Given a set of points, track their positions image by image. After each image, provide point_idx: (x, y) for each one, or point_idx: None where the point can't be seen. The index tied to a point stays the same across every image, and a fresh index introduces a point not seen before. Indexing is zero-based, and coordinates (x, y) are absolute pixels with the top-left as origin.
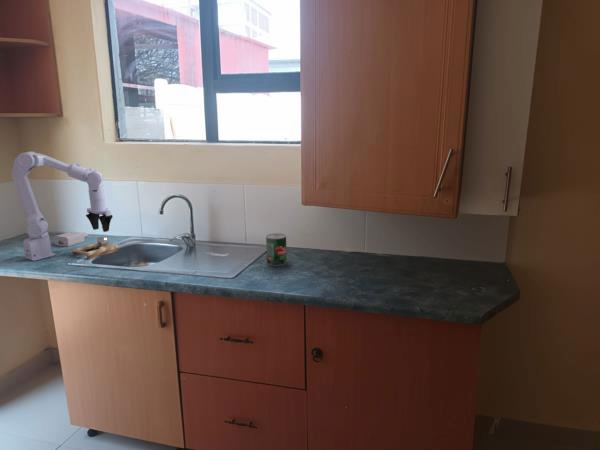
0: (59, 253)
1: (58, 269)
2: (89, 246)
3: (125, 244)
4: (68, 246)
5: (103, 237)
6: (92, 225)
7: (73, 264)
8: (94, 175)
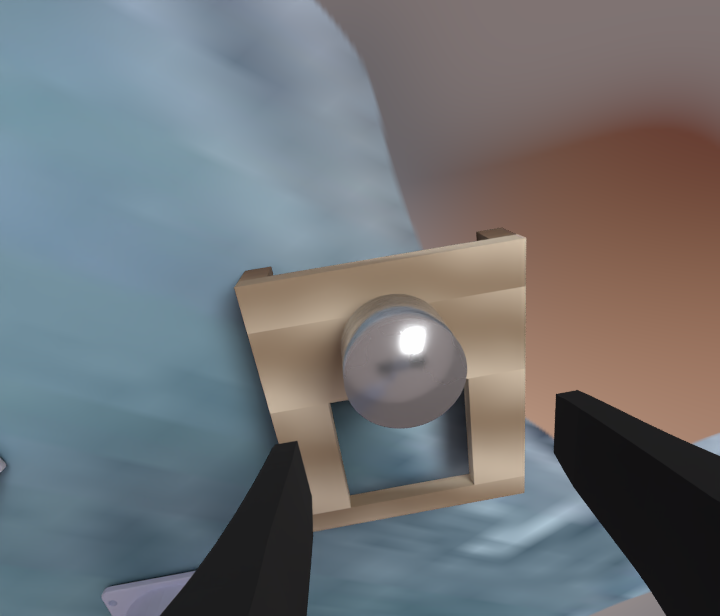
0: (187, 540)
1: (532, 600)
2: (317, 425)
3: (327, 47)
4: (2, 460)
5: (408, 364)
6: (307, 581)
7: (520, 540)
8: None
